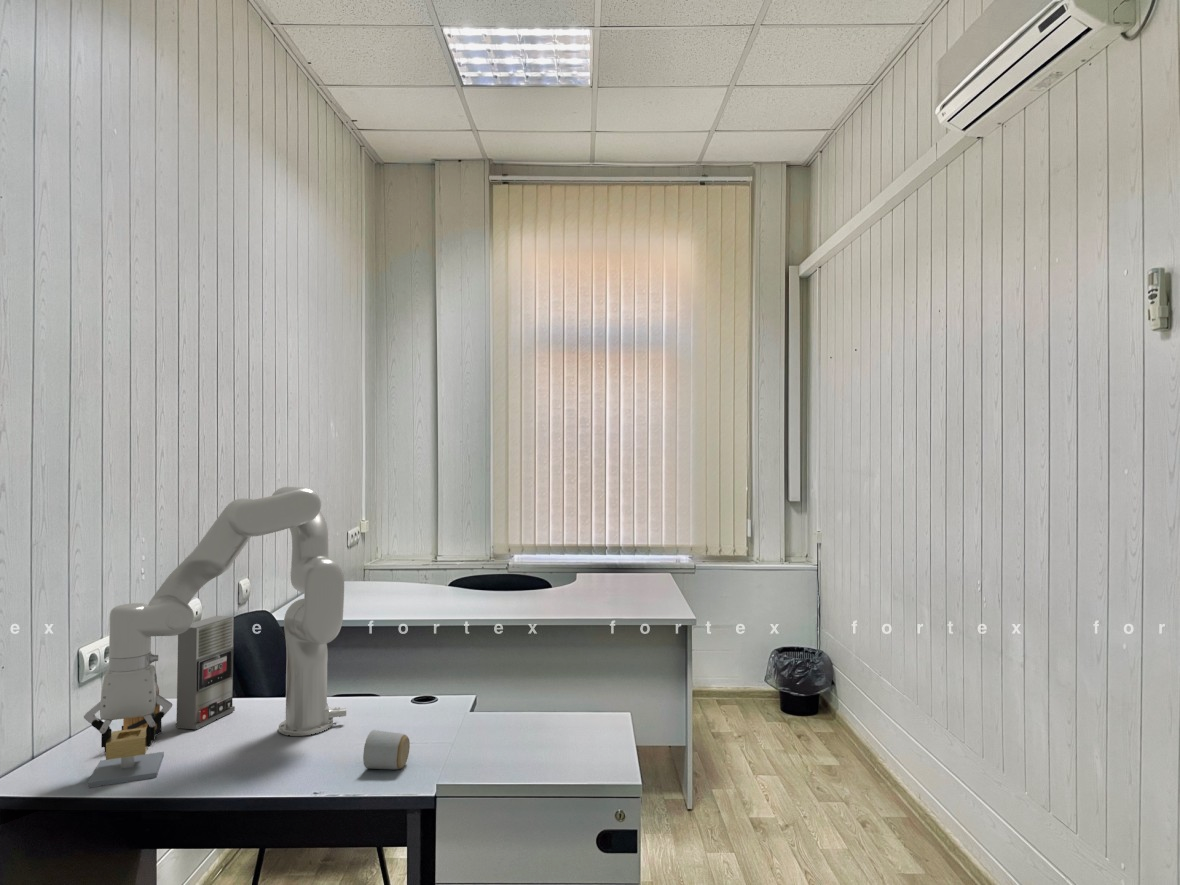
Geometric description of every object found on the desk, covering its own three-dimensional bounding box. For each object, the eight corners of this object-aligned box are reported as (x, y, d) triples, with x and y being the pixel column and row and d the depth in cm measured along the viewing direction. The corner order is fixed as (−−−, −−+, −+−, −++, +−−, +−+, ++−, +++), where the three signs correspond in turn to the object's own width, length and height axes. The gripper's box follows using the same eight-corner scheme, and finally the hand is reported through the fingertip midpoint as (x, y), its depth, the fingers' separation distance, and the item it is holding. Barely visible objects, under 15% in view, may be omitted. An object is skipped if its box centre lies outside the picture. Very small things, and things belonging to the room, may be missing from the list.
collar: (149, 742, 159) (150, 726, 159) (145, 754, 153) (145, 737, 153) (112, 747, 156) (112, 731, 156) (105, 759, 150) (106, 742, 150)
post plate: (163, 756, 162) (164, 729, 162) (156, 777, 151) (156, 748, 152) (100, 765, 157) (100, 737, 158) (87, 787, 146) (88, 757, 147)
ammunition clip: (127, 749, 166) (128, 696, 167) (120, 748, 167) (121, 696, 167) (161, 732, 177) (162, 682, 177) (155, 731, 177) (155, 682, 177)
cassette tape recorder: (197, 730, 178) (198, 628, 179) (175, 728, 179) (177, 626, 180) (235, 711, 191) (236, 616, 192) (215, 710, 193) (216, 615, 193)
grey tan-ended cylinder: (400, 775, 152) (400, 738, 153) (361, 774, 153) (362, 737, 153) (415, 756, 163) (416, 721, 163) (379, 755, 164) (380, 720, 164)
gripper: (178, 654, 162) (177, 734, 162) (85, 663, 155) (83, 747, 154) (174, 662, 155) (173, 747, 155) (77, 672, 148) (75, 760, 148)
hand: (128, 746), depth 155 cm, fingers closed on collar, 6 cm apart
